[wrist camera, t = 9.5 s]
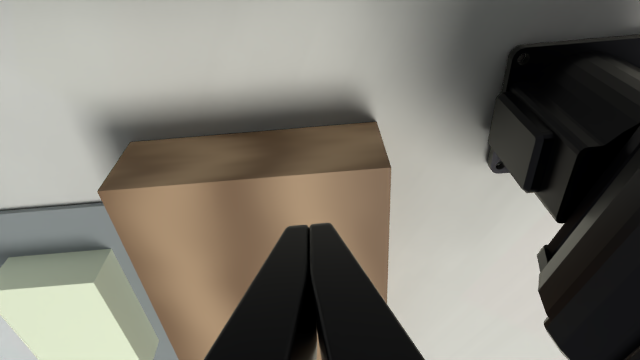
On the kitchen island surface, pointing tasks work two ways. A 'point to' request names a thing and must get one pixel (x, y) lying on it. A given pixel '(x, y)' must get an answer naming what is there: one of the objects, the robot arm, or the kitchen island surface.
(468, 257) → the kitchen island surface
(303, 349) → the robot arm
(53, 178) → the kitchen island surface
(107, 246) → the slate mat
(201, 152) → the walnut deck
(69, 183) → the kitchen island surface
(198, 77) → the kitchen island surface
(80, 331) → the sage tile
